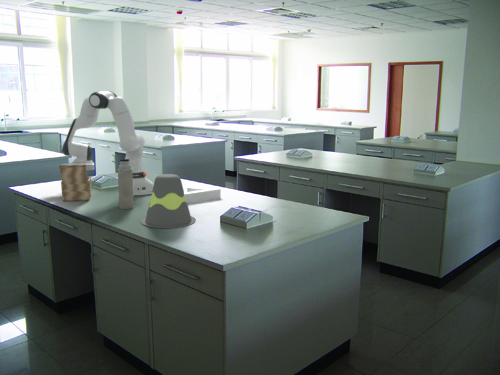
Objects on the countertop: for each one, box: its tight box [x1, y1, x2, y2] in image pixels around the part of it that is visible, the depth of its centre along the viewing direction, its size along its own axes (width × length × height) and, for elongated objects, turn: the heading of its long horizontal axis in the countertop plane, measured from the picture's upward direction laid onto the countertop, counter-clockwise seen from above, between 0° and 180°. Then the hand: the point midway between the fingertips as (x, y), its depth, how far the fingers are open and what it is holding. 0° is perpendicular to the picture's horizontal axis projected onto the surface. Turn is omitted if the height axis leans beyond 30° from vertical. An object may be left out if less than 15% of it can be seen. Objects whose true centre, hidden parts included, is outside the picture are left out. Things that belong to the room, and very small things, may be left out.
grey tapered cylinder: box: [140, 173, 197, 229], centre depth 226 cm, size 28×28×24 cm
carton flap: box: [58, 164, 88, 182], centre depth 262 cm, size 14×14×1 cm
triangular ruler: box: [182, 185, 222, 204], centre depth 283 cm, size 30×26×6 cm
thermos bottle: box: [117, 158, 135, 210], centre depth 253 cm, size 8×8×28 cm
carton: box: [60, 176, 93, 202], centre depth 275 cm, size 16×14×12 cm
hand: (76, 168), depth 279 cm, fingers closed
